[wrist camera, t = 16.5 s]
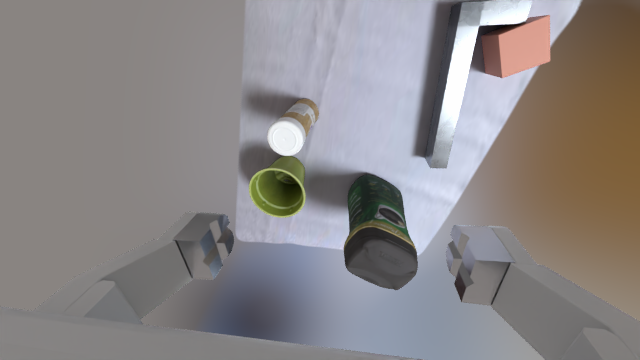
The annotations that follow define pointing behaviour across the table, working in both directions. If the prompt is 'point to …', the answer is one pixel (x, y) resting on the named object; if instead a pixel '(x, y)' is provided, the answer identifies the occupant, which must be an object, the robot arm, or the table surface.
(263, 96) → the table surface
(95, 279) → the robot arm
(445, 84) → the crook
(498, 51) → the block
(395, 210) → the coffee jar
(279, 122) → the sprinkles bottle
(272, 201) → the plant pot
